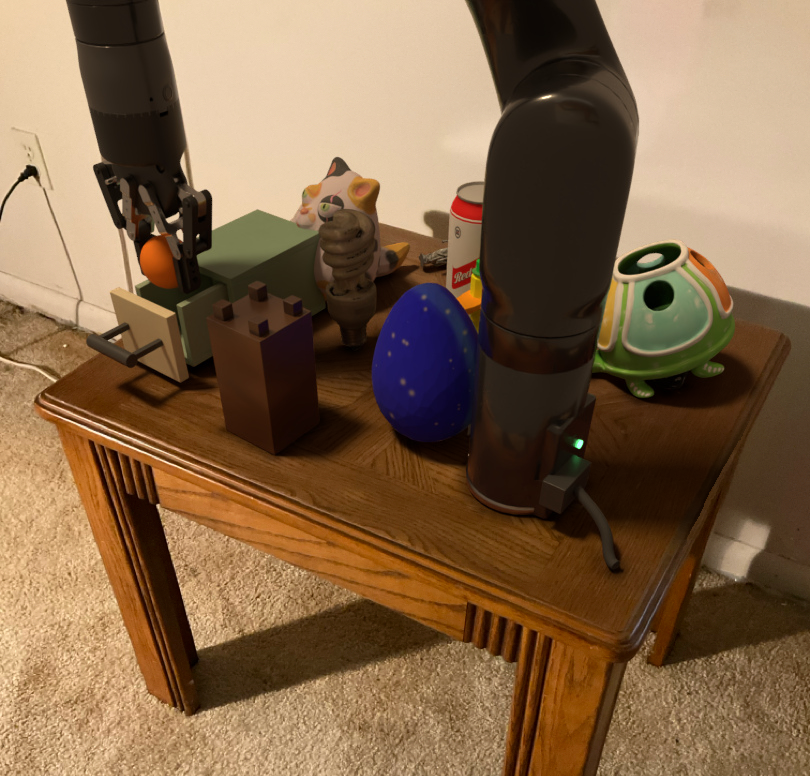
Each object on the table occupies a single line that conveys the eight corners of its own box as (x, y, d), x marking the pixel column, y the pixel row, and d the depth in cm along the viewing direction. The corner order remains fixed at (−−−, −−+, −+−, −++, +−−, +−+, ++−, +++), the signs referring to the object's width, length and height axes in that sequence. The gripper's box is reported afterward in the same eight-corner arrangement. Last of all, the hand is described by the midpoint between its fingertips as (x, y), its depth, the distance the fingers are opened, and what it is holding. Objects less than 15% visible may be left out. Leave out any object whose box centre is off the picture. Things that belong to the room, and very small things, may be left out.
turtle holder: (557, 361, 93) (528, 268, 85) (723, 310, 88) (707, 206, 80) (568, 426, 84) (536, 329, 77) (753, 374, 79) (738, 264, 71)
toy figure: (462, 391, 84) (470, 282, 75) (435, 378, 85) (440, 269, 77) (502, 365, 87) (514, 257, 79) (476, 352, 89) (485, 246, 80)
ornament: (499, 437, 78) (516, 293, 68) (428, 478, 74) (434, 330, 63) (422, 387, 84) (426, 247, 73) (352, 422, 80) (345, 278, 69)
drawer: (143, 404, 80) (126, 338, 75) (89, 375, 84) (69, 310, 78) (266, 331, 90) (259, 269, 85) (213, 308, 93) (202, 246, 88)
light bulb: (354, 368, 86) (349, 229, 76) (315, 350, 89) (305, 213, 78) (387, 345, 90) (386, 209, 79) (349, 329, 92) (343, 195, 81)
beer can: (501, 352, 89) (517, 205, 78) (443, 351, 89) (451, 204, 78) (498, 322, 93) (512, 179, 82) (443, 321, 93) (449, 178, 82)
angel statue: (473, 246, 106) (480, 275, 105) (413, 252, 104) (420, 281, 103) (480, 227, 102) (487, 256, 101) (418, 233, 101) (425, 263, 100)
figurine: (250, 268, 96) (288, 137, 89) (359, 287, 108) (401, 173, 101) (304, 314, 90) (350, 177, 83) (414, 329, 102) (462, 210, 95)
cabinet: (242, 358, 88) (230, 279, 81) (181, 329, 92) (165, 251, 85) (326, 308, 95) (321, 231, 89) (266, 283, 99) (257, 209, 93)
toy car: (678, 394, 83) (683, 377, 82) (645, 385, 84) (649, 367, 83) (698, 357, 88) (703, 340, 87) (667, 348, 89) (671, 331, 88)
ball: (207, 283, 82) (199, 235, 79) (169, 303, 79) (159, 253, 76) (174, 269, 84) (164, 221, 81) (135, 287, 81) (123, 238, 78)
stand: (320, 422, 80) (310, 298, 70) (274, 455, 76) (257, 329, 67) (272, 399, 82) (256, 276, 73) (226, 429, 79) (203, 304, 69)
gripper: (43, 89, 70) (95, 275, 82) (154, 125, 64) (192, 320, 76) (113, 69, 75) (153, 248, 87) (224, 101, 69) (250, 289, 81)
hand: (171, 281), depth 81 cm, fingers closed on ball, 5 cm apart
